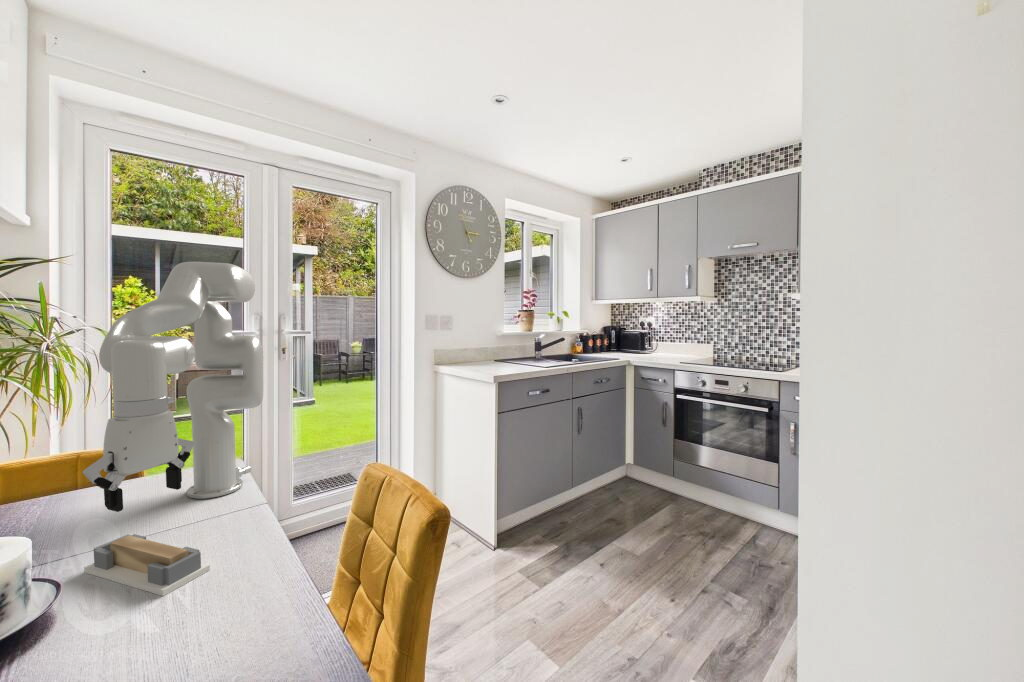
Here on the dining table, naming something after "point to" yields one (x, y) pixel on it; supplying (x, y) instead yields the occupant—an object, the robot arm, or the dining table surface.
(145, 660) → the dining table surface
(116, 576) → the mounting board
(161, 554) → the slat
